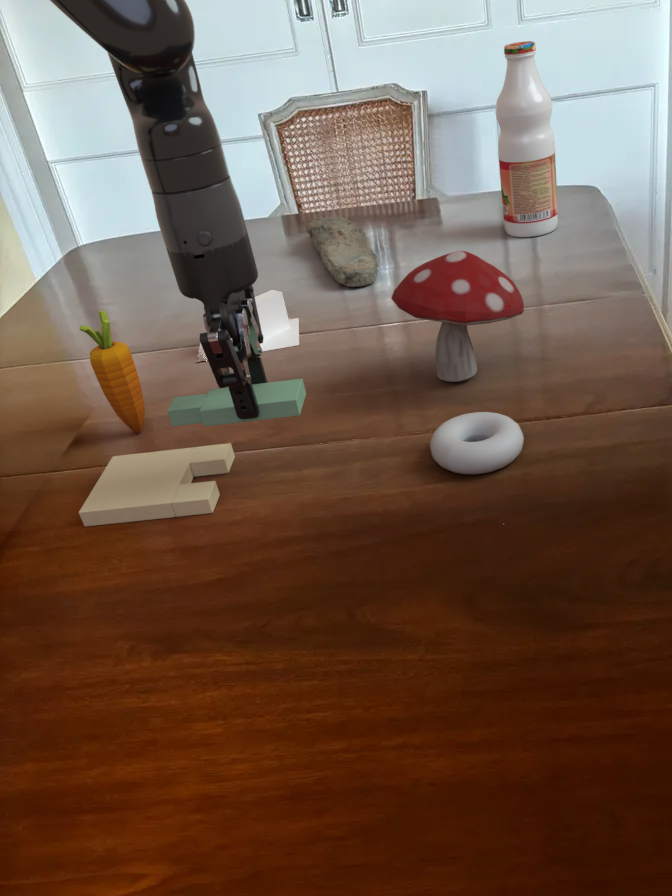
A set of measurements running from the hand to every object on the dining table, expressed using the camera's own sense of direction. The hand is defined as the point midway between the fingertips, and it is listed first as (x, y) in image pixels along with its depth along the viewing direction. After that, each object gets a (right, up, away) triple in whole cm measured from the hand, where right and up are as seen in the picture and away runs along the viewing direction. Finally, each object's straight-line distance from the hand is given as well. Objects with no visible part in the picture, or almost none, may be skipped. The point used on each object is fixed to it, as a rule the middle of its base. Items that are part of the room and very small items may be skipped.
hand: (254, 404), depth 92 cm
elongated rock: (+2, +39, +64) cm, 76 cm away
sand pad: (-11, -8, +6) cm, 15 cm away
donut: (+23, -5, +4) cm, 24 cm away
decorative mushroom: (+22, +8, +20) cm, 31 cm away
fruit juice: (+35, +44, +64) cm, 85 cm away
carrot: (-18, 0, +19) cm, 26 cm away
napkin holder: (-9, +18, +39) cm, 44 cm away
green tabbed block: (-2, -1, +1) cm, 2 cm away
